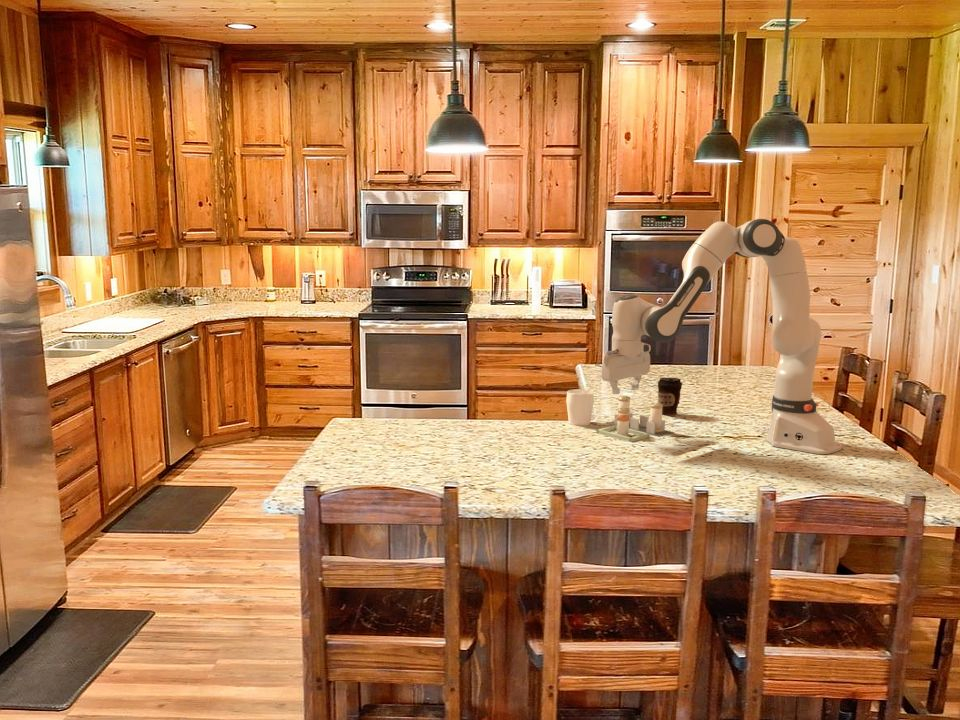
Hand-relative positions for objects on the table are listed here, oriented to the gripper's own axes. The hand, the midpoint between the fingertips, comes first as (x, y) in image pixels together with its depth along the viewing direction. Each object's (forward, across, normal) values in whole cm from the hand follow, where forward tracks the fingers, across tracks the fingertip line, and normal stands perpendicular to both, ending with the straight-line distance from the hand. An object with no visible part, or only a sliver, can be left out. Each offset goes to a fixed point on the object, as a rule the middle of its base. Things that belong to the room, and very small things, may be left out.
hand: (625, 391), depth 268 cm
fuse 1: (+14, +11, +9) cm, 20 cm away
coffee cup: (+16, +38, +11) cm, 43 cm away
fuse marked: (+15, 0, +1) cm, 15 cm away
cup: (+15, +1, +20) cm, 25 cm away
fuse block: (+16, +11, +3) cm, 19 cm away
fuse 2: (+14, +11, -4) cm, 18 cm away
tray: (+15, 0, +1) cm, 16 cm away
